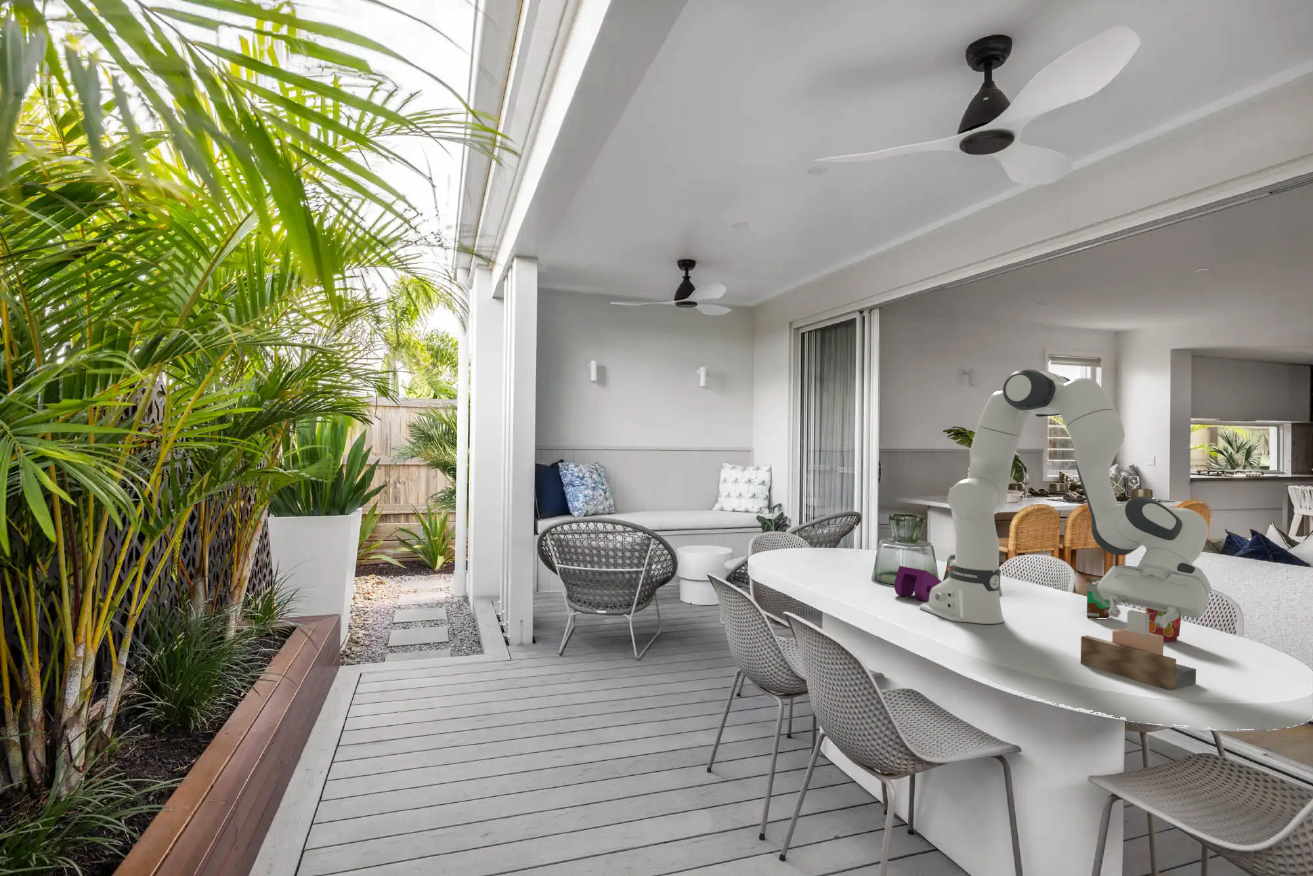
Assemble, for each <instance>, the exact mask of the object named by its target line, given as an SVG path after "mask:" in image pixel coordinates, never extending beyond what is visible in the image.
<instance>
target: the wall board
mask: <svg viewBox="0 0 1313 876" xmlns="http://www.w3.org/2000/svg"><path fill="white" fill-rule="evenodd" d="M1080 664H1082V665H1085V666H1088V667H1092V668H1095V669H1099V670H1101V669H1102V670H1101V671H1105V672H1109V673H1112V674H1116V675H1118V676H1121V677H1124V678H1129V679H1132V680H1135V681H1138V682H1141V683H1144V684H1148V683H1149V685H1152V686H1154V687H1155V686H1156V687H1157V688H1162V689H1164V690H1168V691H1171V690H1176V689H1179V688H1184V687H1187V685H1188V686H1191V685H1190V684H1192V685H1194V684H1193V683H1196V684H1197V669H1196V668H1193V667H1190V666H1186V665H1182V664H1178V663H1177V659H1176V658H1174V657H1170V656H1166V655H1164V654H1163V655H1159V654H1155V653H1152V652H1148V651H1144V650H1140V649H1136V648H1133V647H1129V646H1125V645H1121V644H1117V643H1114V642H1112V641H1109V640H1107V639H1102V638H1098V637H1094V636H1090V635H1082V636H1081V637H1080Z"/></svg>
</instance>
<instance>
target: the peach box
mask: <svg viewBox="0 0 1313 876" xmlns="http://www.w3.org/2000/svg"><path fill="white" fill-rule="evenodd" d="M1126 619H1127V620H1126V621H1127V622H1126V628H1120V629H1113V630H1112V641H1111V642H1114V643H1117V644H1121V645H1125V646H1129V647H1133V648H1136V649H1140V650H1144V651H1148V652H1152V653H1155V654H1159V655H1163V656H1164V641H1163V639H1164V636H1161V635H1157V634H1153V633H1149V614H1147V613H1145V612H1142V611H1137V610H1133V609H1132V610H1131V609H1130V610H1127V618H1126Z"/></svg>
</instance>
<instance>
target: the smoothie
mask: <svg viewBox="0 0 1313 876" xmlns="http://www.w3.org/2000/svg"><path fill="white" fill-rule="evenodd" d="M1144 608H1145V607H1144ZM1144 611H1145V612H1144V613H1147V614H1149V633H1153V634H1157V635H1161V636H1164V639H1163V642H1166V641H1174V642H1177V640H1178V637H1180V632H1181V624H1182V623H1181V622H1182V615H1179V617H1178V618H1177V619H1176V620H1174V621H1172V622H1170V623H1168V624H1167V626H1166V628H1165V629H1164V628H1160V627H1157V626H1156V625H1155V620H1156V618H1157V616H1161V617H1162V616H1163V615H1165V614H1166V613H1168V612H1163V611H1159V610H1154V609H1149V608H1145V609H1144Z"/></svg>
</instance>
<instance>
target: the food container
mask: <svg viewBox="0 0 1313 876" xmlns="http://www.w3.org/2000/svg"><path fill="white" fill-rule="evenodd" d="M1101 579H1102V578H1098V577H1091V581H1090V582H1088V583H1087V587H1086V618H1087V617H1088V618H1087V619H1089V618H1108V617H1109V618H1110V615H1109V613H1108V610H1109V609H1110V607H1111V605H1110V600H1107V599H1104V598H1103V597H1102V596H1101V594H1100V593H1099V591H1098V589H1097V585H1098V584H1099V582H1100V581H1101Z"/></svg>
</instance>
